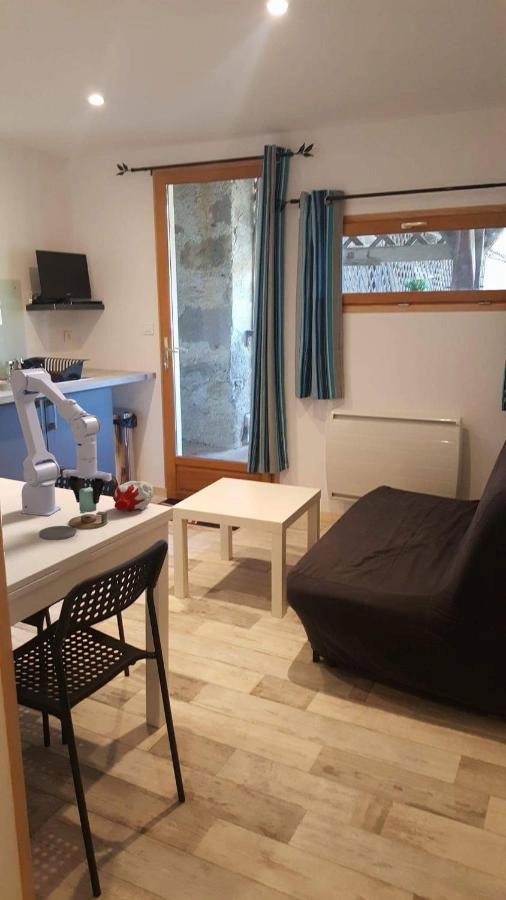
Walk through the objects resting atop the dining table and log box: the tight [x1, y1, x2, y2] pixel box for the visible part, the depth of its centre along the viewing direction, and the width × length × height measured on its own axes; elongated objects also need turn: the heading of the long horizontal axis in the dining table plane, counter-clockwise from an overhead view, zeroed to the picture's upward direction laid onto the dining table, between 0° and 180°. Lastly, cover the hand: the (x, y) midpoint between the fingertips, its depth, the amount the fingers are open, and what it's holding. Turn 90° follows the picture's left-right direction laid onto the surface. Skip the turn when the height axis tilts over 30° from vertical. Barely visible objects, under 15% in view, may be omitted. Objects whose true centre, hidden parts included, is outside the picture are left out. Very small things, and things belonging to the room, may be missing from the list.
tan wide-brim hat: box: [68, 511, 109, 530], centre depth 193 cm, size 11×11×4 cm
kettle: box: [78, 486, 97, 515], centre depth 191 cm, size 6×5×6 cm
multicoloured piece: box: [112, 480, 155, 512], centre depth 205 cm, size 9×11×15 cm
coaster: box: [38, 525, 77, 541], centre depth 184 cm, size 10×10×1 cm
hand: (87, 502), depth 192 cm, fingers closed on kettle, 5 cm apart
